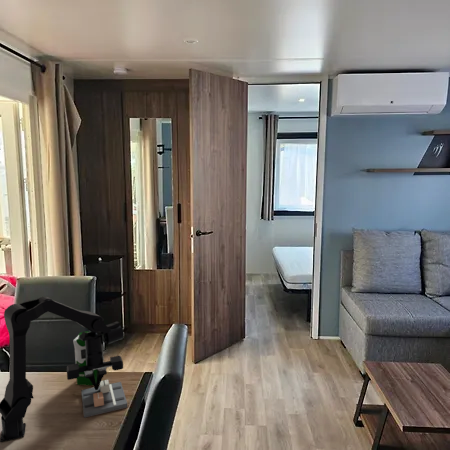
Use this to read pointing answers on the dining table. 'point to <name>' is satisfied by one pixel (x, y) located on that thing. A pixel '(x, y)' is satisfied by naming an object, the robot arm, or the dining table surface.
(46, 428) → the dining table surface
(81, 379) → the milk carton
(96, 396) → the fader terracotta
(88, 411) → the console
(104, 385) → the fader ivory
